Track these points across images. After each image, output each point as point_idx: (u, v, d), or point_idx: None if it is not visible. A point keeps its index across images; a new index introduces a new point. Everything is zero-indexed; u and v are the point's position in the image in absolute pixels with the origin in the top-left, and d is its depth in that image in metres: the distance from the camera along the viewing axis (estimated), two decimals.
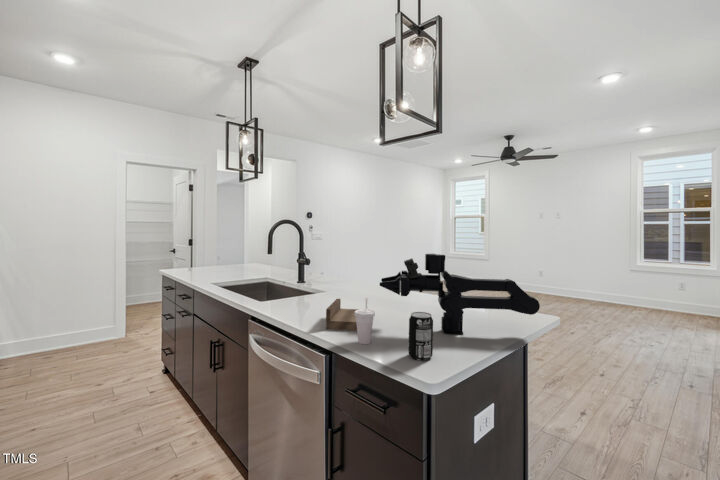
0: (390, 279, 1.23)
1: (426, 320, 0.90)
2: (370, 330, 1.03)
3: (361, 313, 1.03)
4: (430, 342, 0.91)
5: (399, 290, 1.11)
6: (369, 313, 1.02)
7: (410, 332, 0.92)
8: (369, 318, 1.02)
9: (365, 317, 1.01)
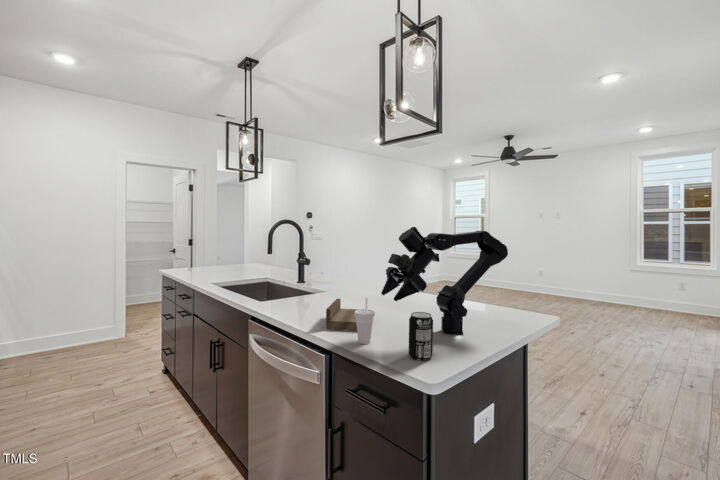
0: (388, 286, 1.12)
1: (426, 320, 0.90)
2: (370, 330, 1.03)
3: (361, 313, 1.03)
4: (430, 342, 0.91)
5: (416, 288, 1.02)
6: (369, 313, 1.02)
7: (410, 332, 0.92)
8: (369, 318, 1.02)
9: (365, 317, 1.01)
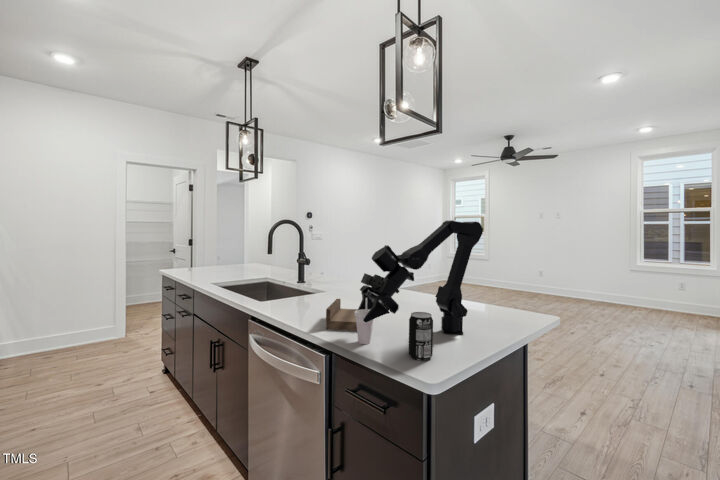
0: (363, 307, 1.08)
1: (426, 320, 0.90)
2: (370, 330, 1.03)
3: (361, 313, 1.03)
4: (430, 342, 0.91)
5: (386, 309, 1.00)
6: None
7: (410, 332, 0.92)
8: None
9: None
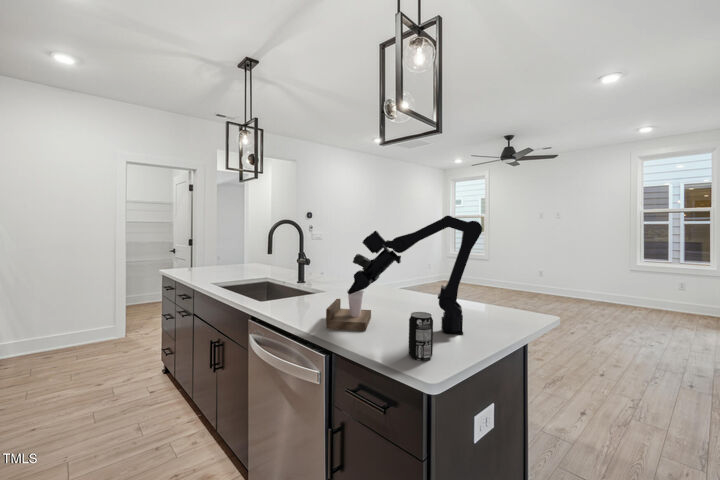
0: None
1: (426, 320, 0.90)
2: (357, 306, 1.22)
3: None
4: (430, 342, 0.91)
5: (361, 285, 1.16)
6: None
7: (410, 332, 0.92)
8: (354, 295, 1.22)
9: None
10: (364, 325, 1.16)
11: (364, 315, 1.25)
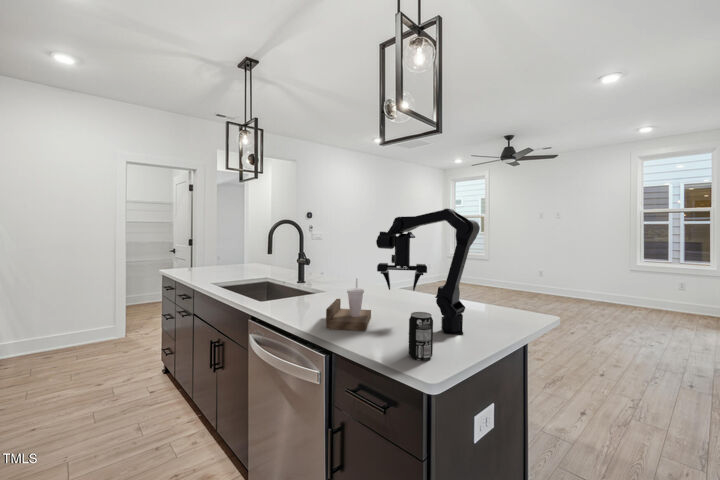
0: None
1: (426, 320, 0.90)
2: (357, 306, 1.22)
3: (350, 290, 1.23)
4: (430, 342, 0.91)
5: None
6: (355, 291, 1.22)
7: (410, 332, 0.92)
8: (354, 295, 1.22)
9: (351, 293, 1.22)
10: (364, 325, 1.16)
11: (364, 315, 1.25)
